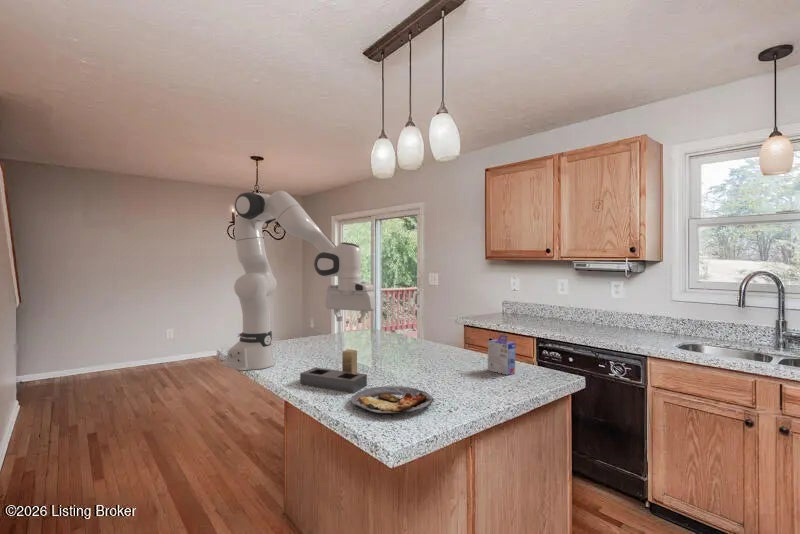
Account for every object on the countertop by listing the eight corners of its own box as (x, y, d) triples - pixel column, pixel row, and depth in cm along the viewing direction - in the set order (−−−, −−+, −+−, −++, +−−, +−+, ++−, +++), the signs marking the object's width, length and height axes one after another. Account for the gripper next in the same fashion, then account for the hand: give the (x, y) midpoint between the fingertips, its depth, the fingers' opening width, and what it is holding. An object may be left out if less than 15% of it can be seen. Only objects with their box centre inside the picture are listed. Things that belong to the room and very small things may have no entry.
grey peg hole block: (300, 384, 144) (300, 373, 144) (315, 377, 152) (315, 367, 152) (353, 393, 135) (353, 381, 135) (366, 385, 143) (366, 374, 143)
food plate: (448, 404, 124) (448, 393, 124) (393, 427, 108) (393, 413, 108) (392, 388, 142) (392, 378, 142) (337, 405, 126) (337, 394, 126)
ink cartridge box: (516, 373, 160) (516, 336, 160) (508, 375, 156) (508, 338, 156) (495, 368, 167) (495, 333, 167) (487, 370, 164) (487, 334, 163)
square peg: (342, 377, 153) (342, 351, 152) (347, 375, 156) (348, 349, 156) (351, 379, 151) (351, 352, 151) (356, 376, 155) (357, 350, 154)
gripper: (322, 285, 154) (322, 321, 155) (369, 286, 146) (369, 324, 146) (331, 284, 160) (331, 319, 160) (377, 285, 152) (377, 322, 152)
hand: (349, 322), depth 153 cm, fingers open, 8 cm apart
